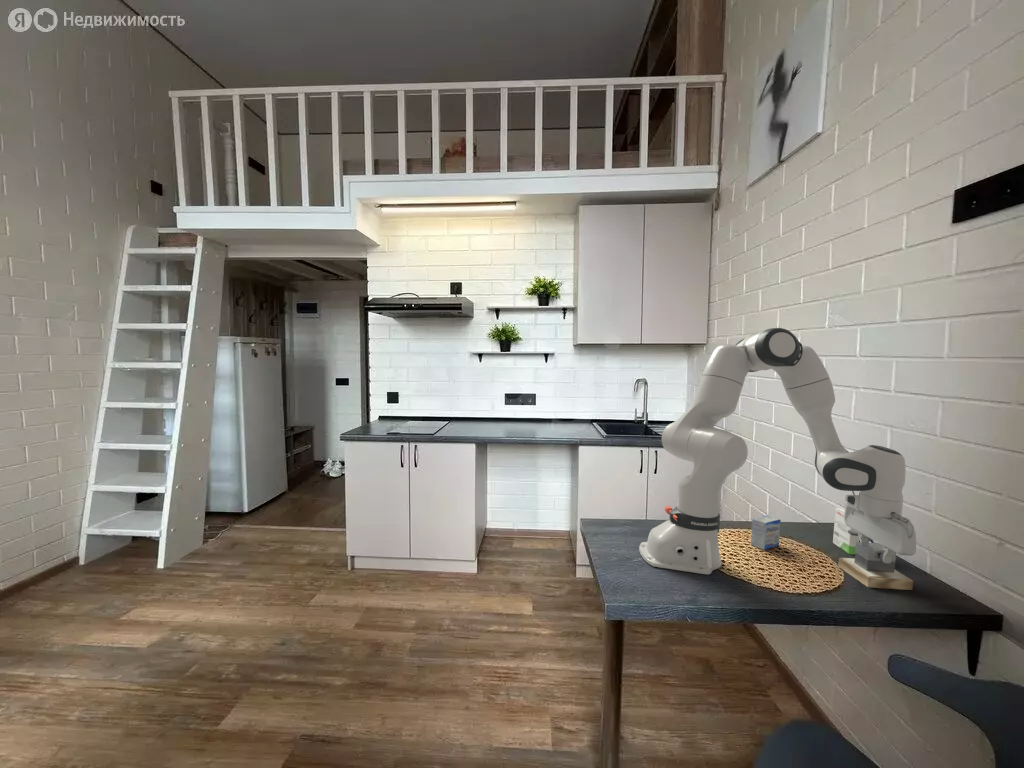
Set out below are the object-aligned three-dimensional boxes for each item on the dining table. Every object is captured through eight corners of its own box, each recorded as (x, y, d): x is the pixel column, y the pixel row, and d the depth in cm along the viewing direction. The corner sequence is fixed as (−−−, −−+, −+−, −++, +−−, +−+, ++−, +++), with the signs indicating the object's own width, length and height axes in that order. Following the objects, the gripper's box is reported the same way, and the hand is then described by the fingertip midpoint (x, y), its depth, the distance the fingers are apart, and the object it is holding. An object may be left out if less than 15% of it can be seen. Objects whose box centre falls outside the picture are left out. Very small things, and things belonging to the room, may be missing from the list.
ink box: (866, 556, 128) (869, 518, 128) (848, 554, 129) (851, 516, 128) (848, 543, 137) (851, 508, 136) (831, 542, 138) (834, 507, 137)
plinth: (867, 587, 110) (868, 576, 110) (838, 566, 121) (838, 556, 121) (912, 590, 110) (913, 579, 109) (878, 568, 121) (879, 559, 120)
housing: (894, 572, 113) (896, 550, 112) (866, 570, 113) (868, 549, 113) (880, 564, 117) (882, 543, 117) (854, 562, 118) (856, 541, 117)
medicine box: (763, 550, 130) (766, 523, 129) (750, 544, 134) (751, 518, 133) (779, 546, 134) (781, 519, 133) (765, 540, 137) (767, 514, 137)
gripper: (927, 522, 104) (921, 576, 105) (863, 494, 124) (859, 540, 125) (900, 520, 104) (894, 574, 105) (841, 493, 124) (837, 539, 125)
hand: (875, 556), depth 115 cm, fingers open, 5 cm apart
